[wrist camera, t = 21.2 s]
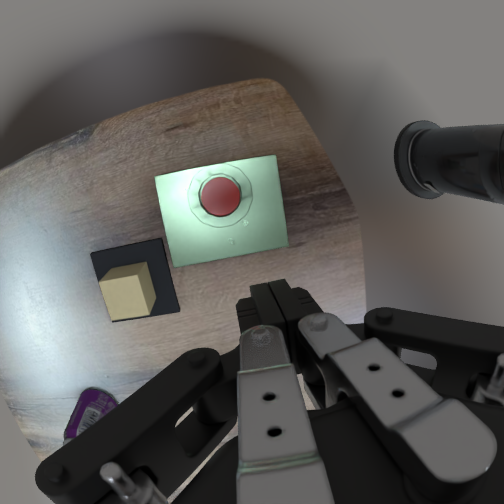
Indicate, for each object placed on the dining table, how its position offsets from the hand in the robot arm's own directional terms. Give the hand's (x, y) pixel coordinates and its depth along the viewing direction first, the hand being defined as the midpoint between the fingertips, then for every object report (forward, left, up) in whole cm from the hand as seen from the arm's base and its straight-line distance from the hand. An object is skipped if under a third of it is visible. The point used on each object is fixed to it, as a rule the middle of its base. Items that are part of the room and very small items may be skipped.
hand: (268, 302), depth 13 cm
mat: (+14, +6, -25) cm, 29 cm away
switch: (+1, -3, -21) cm, 22 cm away
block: (+14, +6, -24) cm, 29 cm away
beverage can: (+28, +26, -25) cm, 46 cm away
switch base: (+1, -1, -25) cm, 25 cm away
